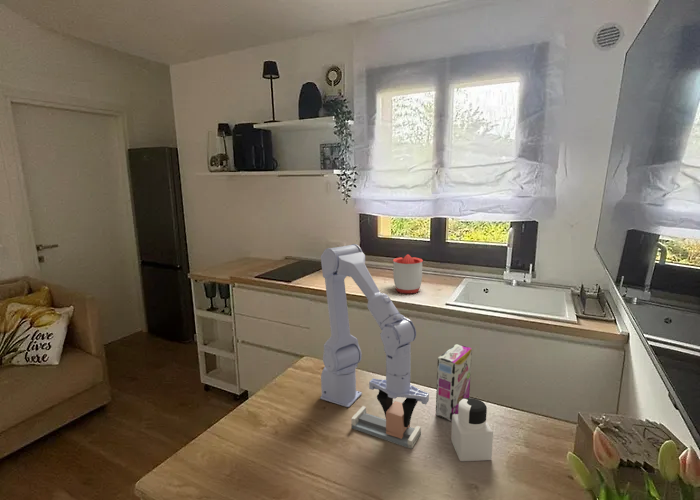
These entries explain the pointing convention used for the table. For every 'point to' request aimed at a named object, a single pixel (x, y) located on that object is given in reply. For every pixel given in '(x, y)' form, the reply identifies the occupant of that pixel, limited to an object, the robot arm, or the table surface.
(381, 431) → the rail
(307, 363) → the table surface
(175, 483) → the table surface
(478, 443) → the medicine bottle
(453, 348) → the candy bar box
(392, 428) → the pink rectangular block
